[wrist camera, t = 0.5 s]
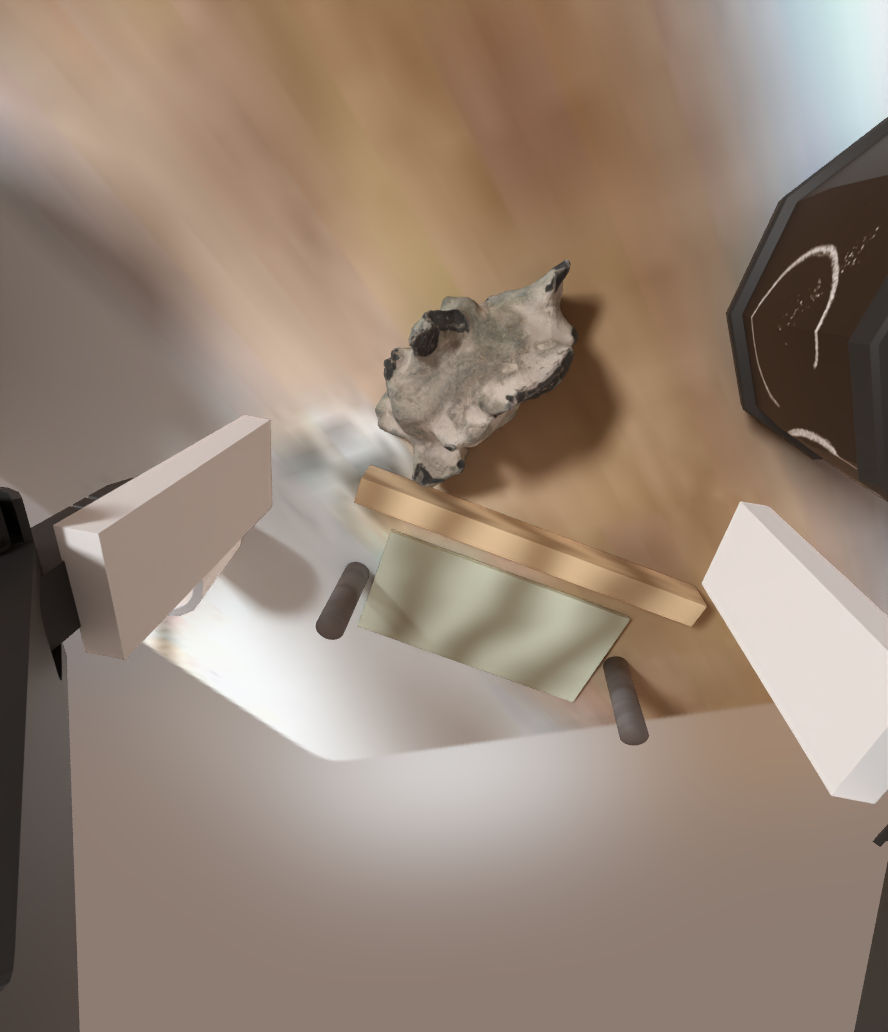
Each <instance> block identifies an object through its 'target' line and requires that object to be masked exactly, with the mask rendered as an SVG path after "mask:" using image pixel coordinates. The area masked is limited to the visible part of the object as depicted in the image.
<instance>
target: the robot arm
mask: <svg viewBox="0 0 888 1032" xmlns="http://www.w3.org/2000/svg"><path fill="white" fill-rule="evenodd" d="M271 507H272V475H271V429H270V419H264V418H259V417H253V416H247V415H243V416H241V417H239V418H238V419H236V420H234V421H232V422H231V423H229V424H227V425H225V426H224V427H222V428H220V429H219V430H217V431H215V432H213V433H212V434H210V435H208V436H206V437H205V438H203V439H201V440H200V441H198V442H196V443H194V444H193V445H191V446H189V447H187V448H186V449H184V450H182V451H181V452H179V453H177V454H175V455H174V456H172V457H170V458H168V459H167V460H165V461H163V462H161V463H160V464H158V465H156V466H155V467H153V468H151V469H149V470H148V471H146V472H144V473H142V474H141V475H139V476H137V477H136V478H131V479H127V480H124V481H121V482H117V483H114V484H110V485H107V486H105V487H104V488H102V489H100V490H98V491H97V492H95V493H93V494H91V495H89V498H84V499H82V500H80V501H79V502H77V503H75V504H73V507H68V508H66V509H64V510H62V511H61V512H59V513H57V514H55V515H53V516H52V517H50V518H48V519H46V520H45V521H43V522H41V523H39V524H37V525H35V526H34V527H32V528H30V525H29V521H28V518H27V514H26V511H25V507H24V504H23V500H22V498H21V495H20V494H19V492H17V491H15V490H12V489H10V488H5V487H0V1032H80V1030H79V1002H78V972H77V943H76V915H75V887H74V886H75V885H74V856H73V828H72V798H71V769H70V739H69V711H68V682H67V656H66V652H65V649H64V645H63V641H64V640H66V639H67V638H68V637H69V636H70V635H72V634H73V633H74V632H75V631H76V630H77V629H78V628H79V629H80V632H81V636H82V640H83V644H84V648H85V652H87V653H92V654H97V655H102V656H107V657H113V658H118V659H123V660H125V659H126V658H127V657H128V656H129V655H130V654H131V653H132V652H133V651H134V650H135V649H136V648H137V647H138V645H140V644H141V643H142V641H143V640H144V639H145V638H146V637H147V636H148V635H149V634H150V633H151V632H152V631H153V630H154V629H155V628H156V627H157V626H158V625H159V624H160V623H161V622H162V621H163V620H164V619H165V618H166V616H167V615H168V614H169V613H170V612H171V611H172V610H173V609H174V608H175V607H176V606H177V605H178V604H179V603H180V602H181V601H182V600H183V599H184V598H185V597H186V596H187V595H188V594H189V593H190V592H191V590H192V589H193V588H194V587H195V586H196V585H197V584H198V583H199V582H200V581H201V580H202V579H203V578H204V577H205V576H206V575H207V574H208V573H209V572H210V571H211V570H212V569H213V568H214V567H215V566H216V564H217V563H218V562H219V561H220V560H221V559H222V558H223V557H224V556H225V555H226V554H227V553H228V552H229V551H230V550H231V549H232V548H233V547H234V546H235V545H236V544H237V543H238V542H239V541H240V539H241V538H242V537H243V536H244V535H245V534H246V533H247V532H248V531H249V530H250V529H251V528H252V527H253V526H254V525H255V524H256V523H257V522H258V521H259V520H260V519H261V518H262V517H263V516H264V515H265V513H266V512H267V511H268V510H269V509H270V508H271ZM702 585H703V587H704V588H705V590H706V592H707V593H708V595H709V597H710V598H711V600H712V601H713V603H714V605H715V606H716V608H717V610H718V611H719V613H720V615H721V616H722V618H723V619H724V621H725V623H726V624H727V626H728V628H729V629H730V631H731V633H732V634H733V636H734V637H735V639H736V641H737V642H738V644H739V646H740V647H741V649H742V651H743V652H744V654H745V655H746V657H747V659H748V660H749V662H750V664H751V665H752V667H753V669H754V670H755V672H756V673H757V675H758V677H759V678H760V680H761V682H762V683H763V685H764V686H765V688H766V690H767V691H768V693H769V695H770V696H771V698H772V700H773V701H774V703H775V704H776V706H777V708H778V709H779V711H780V713H781V714H782V716H783V718H784V719H785V721H786V722H787V724H788V726H789V727H790V729H791V731H792V732H793V734H794V736H795V737H796V739H797V740H798V742H799V744H800V745H801V747H802V749H803V750H804V752H805V754H806V755H807V757H808V758H809V760H810V762H811V763H812V765H813V767H814V768H815V770H816V772H817V773H818V775H819V776H820V778H821V780H822V781H823V783H824V785H825V786H826V788H827V790H828V791H829V793H830V794H831V796H835V797H841V798H846V799H851V800H856V801H861V802H867V803H872V804H875V803H876V802H877V801H878V800H879V799H880V797H881V796H882V795H883V794H884V793H885V792H886V791H887V790H888V616H887V615H886V614H885V613H884V612H883V611H882V610H880V609H879V608H878V607H877V606H876V605H875V604H874V603H873V602H872V601H871V600H870V599H869V598H867V597H866V596H865V595H864V594H863V593H862V592H861V591H860V590H859V589H858V588H857V587H856V586H855V585H853V584H852V583H851V582H850V581H849V580H848V579H847V578H846V577H845V576H844V575H843V574H842V573H840V572H839V571H838V570H837V569H836V568H835V567H834V566H833V565H832V564H831V563H830V562H829V561H827V560H826V559H825V558H824V557H823V556H822V555H821V554H820V553H819V552H818V551H817V550H816V549H814V548H813V547H812V546H811V545H810V544H809V543H808V542H807V541H806V540H805V539H804V538H803V537H801V536H800V535H799V534H798V533H797V532H796V531H795V530H794V529H793V528H792V527H791V526H790V525H788V524H787V523H786V522H785V521H784V520H783V519H782V518H781V517H780V516H779V515H778V514H777V513H775V512H774V511H773V510H772V509H771V508H770V507H769V506H764V505H759V504H753V503H747V502H741V501H740V503H739V505H738V507H737V509H736V512H735V514H734V516H733V518H732V520H731V522H730V524H729V527H728V529H727V531H726V533H725V535H724V537H723V539H722V542H721V544H720V546H719V548H718V550H717V552H716V554H715V556H714V559H713V561H712V563H711V565H710V567H709V569H708V571H707V574H706V576H705V578H704V580H703V582H702ZM885 841H888V825H887V826H886V827H885V828H884V829H883V830H882V831H881V832H880V834H878V836H877V837H876V838H875V840H874V841H873V842H874V843H876V844H877V845H878V846H882V844H883V843H884V842H885ZM854 1032H888V863H887V869H886V874H885V879H884V884H883V889H882V894H881V899H880V904H879V909H878V914H877V919H876V924H875V929H874V934H873V940H872V945H871V949H870V954H869V960H868V965H867V970H866V975H865V980H864V985H863V990H862V995H861V1000H860V1005H859V1010H858V1015H857V1020H856V1025H855V1030H854Z"/></svg>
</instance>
